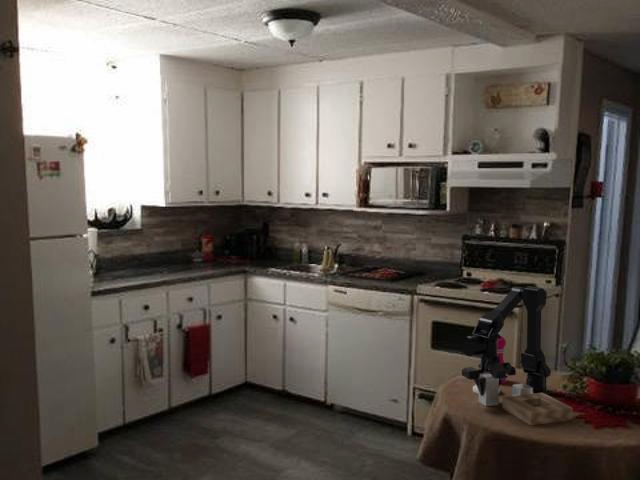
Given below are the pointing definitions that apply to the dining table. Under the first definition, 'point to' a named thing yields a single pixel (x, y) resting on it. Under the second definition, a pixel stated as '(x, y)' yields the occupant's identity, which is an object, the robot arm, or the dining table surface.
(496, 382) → the grey tall rectangular block
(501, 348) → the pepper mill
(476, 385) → the mechanical component
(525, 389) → the grey cube
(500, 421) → the dining table surface
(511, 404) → the hole block
